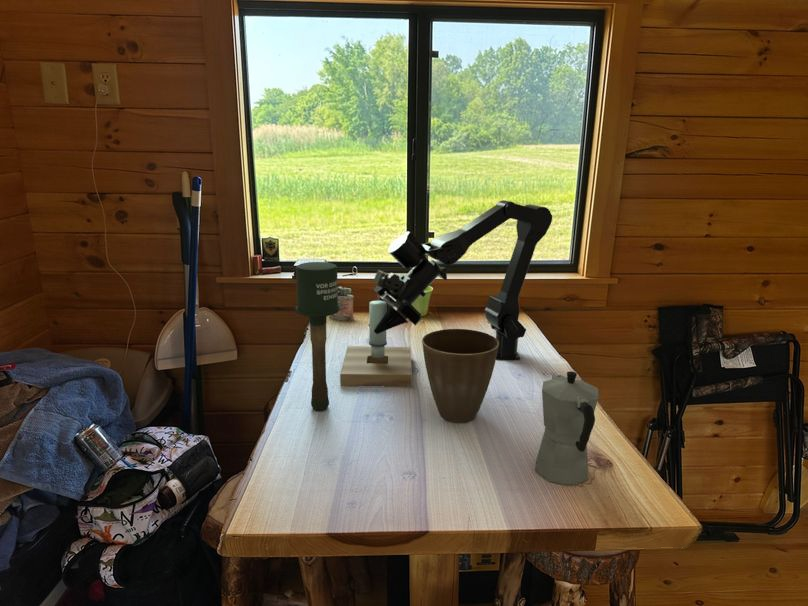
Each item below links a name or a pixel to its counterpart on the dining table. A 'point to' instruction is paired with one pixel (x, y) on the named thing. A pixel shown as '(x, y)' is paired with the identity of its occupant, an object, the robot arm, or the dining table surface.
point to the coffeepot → (566, 429)
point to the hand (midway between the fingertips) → (372, 329)
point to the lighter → (344, 305)
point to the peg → (375, 316)
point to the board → (376, 367)
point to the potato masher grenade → (317, 318)
